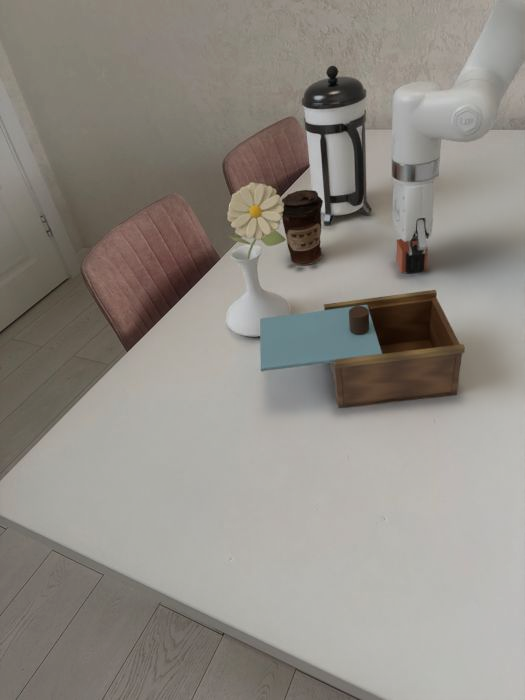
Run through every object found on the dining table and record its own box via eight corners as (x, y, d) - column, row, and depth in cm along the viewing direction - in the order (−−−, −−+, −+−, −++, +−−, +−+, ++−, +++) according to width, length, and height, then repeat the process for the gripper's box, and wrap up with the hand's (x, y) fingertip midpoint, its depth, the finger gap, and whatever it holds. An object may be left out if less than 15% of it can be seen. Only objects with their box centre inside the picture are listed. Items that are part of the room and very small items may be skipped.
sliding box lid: (367, 307, 72) (366, 286, 70) (382, 356, 63) (382, 335, 61) (260, 321, 73) (256, 301, 71) (261, 371, 65) (256, 351, 62)
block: (420, 257, 95) (421, 236, 92) (426, 269, 91) (427, 247, 88) (396, 260, 95) (396, 239, 92) (401, 273, 92) (402, 251, 89)
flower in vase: (217, 338, 85) (179, 199, 69) (243, 300, 93) (214, 167, 77) (288, 348, 80) (266, 200, 64) (309, 307, 88) (294, 166, 72)
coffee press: (293, 223, 114) (275, 78, 95) (327, 194, 123) (317, 57, 104) (362, 234, 105) (358, 77, 86) (394, 202, 114) (396, 54, 95)
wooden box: (431, 337, 77) (435, 289, 71) (458, 397, 67) (465, 347, 61) (327, 350, 78) (323, 304, 73) (338, 411, 68) (335, 363, 63)
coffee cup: (332, 264, 98) (327, 201, 90) (291, 273, 97) (282, 211, 89) (321, 244, 104) (315, 184, 96) (282, 252, 104) (273, 193, 96)
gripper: (381, 154, 88) (381, 245, 100) (403, 191, 75) (401, 291, 87) (424, 147, 88) (419, 240, 99) (454, 183, 75) (444, 286, 86)
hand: (411, 263), depth 93 cm, fingers closed on block, 4 cm apart
